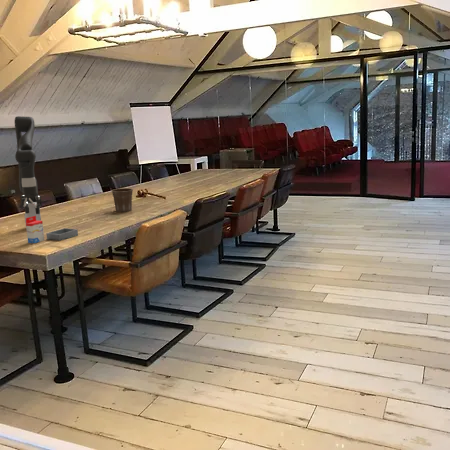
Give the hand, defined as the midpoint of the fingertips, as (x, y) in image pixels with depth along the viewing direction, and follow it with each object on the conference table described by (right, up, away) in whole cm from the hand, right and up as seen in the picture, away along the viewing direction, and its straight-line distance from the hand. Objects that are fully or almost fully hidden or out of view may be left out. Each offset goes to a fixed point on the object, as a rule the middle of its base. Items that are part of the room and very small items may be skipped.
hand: (32, 213), depth 281 cm
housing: (+13, -14, +12) cm, 23 cm away
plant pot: (+33, +4, +94) cm, 99 cm away
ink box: (+1, -16, +4) cm, 17 cm away
